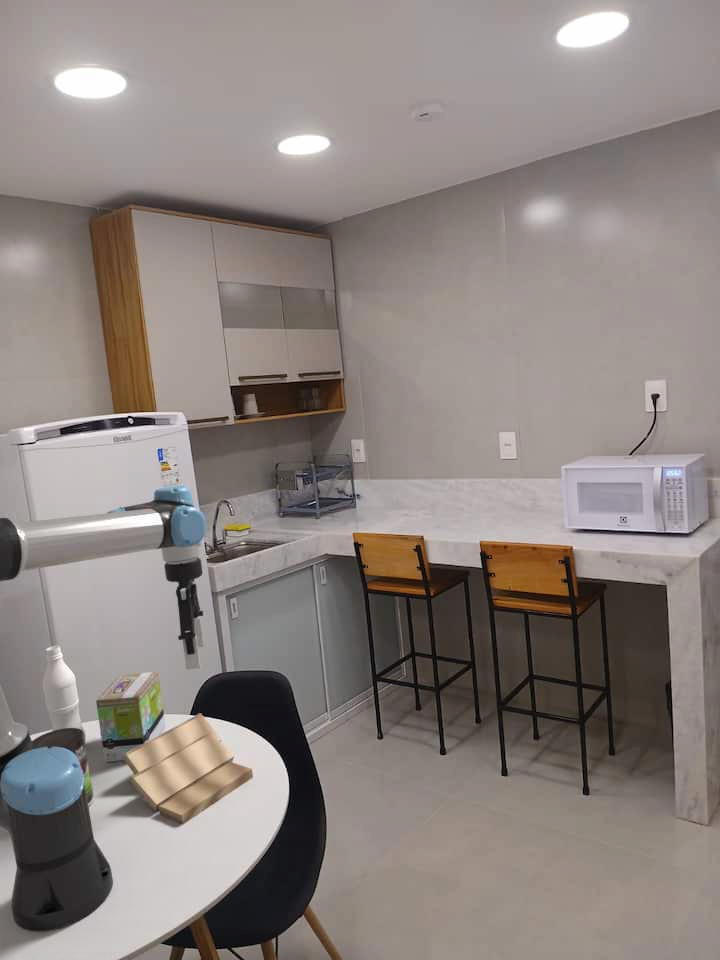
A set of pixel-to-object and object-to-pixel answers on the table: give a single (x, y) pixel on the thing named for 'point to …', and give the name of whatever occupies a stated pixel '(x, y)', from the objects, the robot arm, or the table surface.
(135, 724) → the tea box
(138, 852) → the table surface
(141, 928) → the table surface
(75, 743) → the coffee can
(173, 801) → the laid board
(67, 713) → the water bottle
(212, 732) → the plank
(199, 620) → the robot arm
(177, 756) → the plank
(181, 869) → the table surface
